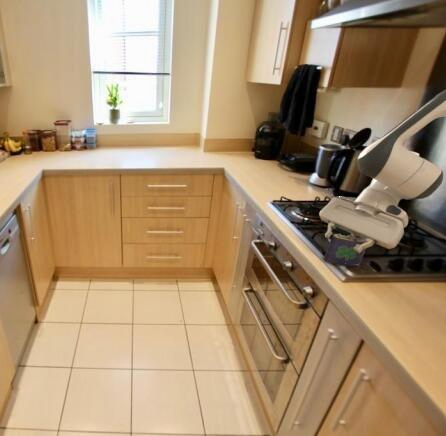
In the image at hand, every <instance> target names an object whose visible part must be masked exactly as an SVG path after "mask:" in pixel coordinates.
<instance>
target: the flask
mask: <svg viewBox="0 0 446 436" xmlns="http://www.w3.org/2000/svg"><path fill="white" fill-rule="evenodd" d="M333 234H334V235H332V237H331V239H329V243H328V246H327V248H326V252H325V255H324V256H323V261H324V262H326V263H328V264H333V265H337V266H343V267H349V268H350V267H351V268H358V267H359V266H360V264H361V262H362V260H363V258H364V255H365V253H366V250H367V248H365V249H363V250H362V251H361V252H360V253H358V252H356V251H354V249H353V248H354V247H355V246H356V244H359V245H361V244H363V243H366V239H364V238H361V237H355V233H353V232H352V233H351V234H350V235H346V234H342V233H333ZM345 263H346V264H345ZM354 264H359V265H354Z"/></svg>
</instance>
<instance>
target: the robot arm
mask: <svg viewBox="0 0 446 436" xmlns="http://www.w3.org/2000/svg"><path fill="white" fill-rule="evenodd" d="M443 117H445V118H446V89H444V90H443V91H441V92H440V93H438V94H436V95H435V96H433V97H432V98H430V99H429V100H428V101H427V102H426V103H424V104H423V105H421V106H420V107H419V108H417V109H416V110H415V111H413V112H412V113H411V114H410V115H408V116H407V117H406V118H404V119H403V120H402V121H401V122H399V123H398V124H397V125H395V126H394V127H393V128H392V129H390V130H389V131H388V132H387V133H385V134H384V135H383V136H381V137H380V138H379V139H377V140H375V141H374V142H372V143H370V144H369V145H367V146H366V147H364V149H363V150H362V151H361V152H360V153H359V155H358V156H357V158H356V166H357V170H358V172H359V173H360V174H363V175H364V176H366V177H369V178H370V179H372V180H371V182H370V184H369V185H368V186H367V187H365V188H364V189H363V190H362V191H361V192H360V193H359V195H358V196H357V197H356V198H357V199H356V200H352V199H349V198H345V197H346V196H343V195H340V196H334V197H332V198H331V200H330V201H329V202H328V203H327V204H326V205H325V206H324V207H323V208H322V209H321V210H320V211H319V213H318V215H319V218H320V221H322V222H324V223H326V224H327V231H326V232H325V234H324V237H325V238H326V239H328V240H331V237H332V235H334V234H335V233H333V230H335V228H336V227H338V228H340V229H343V230H345V231H347V232H350V233H352V232H353V233H355V235H357V236H359V237H358V238H364V239H366V243H363V244H361V245H359V244H356V246H355V247H354V248H353V249H354V251H356V252H358V253H360V252H361V251H362V250H363V249H365V248H366V249H368V248H370V247H373V245H378V246H381V247H382V248H385V249H387V250H391V249H394V248H396V247H397V245H398V244H399V243H400V241H401V240H402V238H403V236H404V234H405V230H404V228H407V226H408V224H409V217H408V214H407V212H406V211H405V210H403V208H401V207H399V206H398V205H399V203H400V201H401V200H406V201H410V200H411V201H412V200H423V199H426V198H429V197H430V196H431V195H432V194H434V193H435V191H436V190H437V189H439V187H440V186H441V185H442V183H443V180H444V171H443V169H441V168H440V167H439V166H438V165H436V164H434V163H432V162H431V161H429V160H427V159H425V158H423V157H421V156H420V155H419V156H418V155H416V154H414V153H412V152H413V151H412V152H410V151H411V150H409V149H407V148H406V147H404V146H403V144H404V143H405V142H406V141H407V140H408V139H410V138H411V137H412V136H414V135H416V133H418V132H420V131H421V130H422V129H423V128H425V126H427V125H428V124H430V123H431V122H433V121H434V120H436V119H438V118H443ZM398 202H399V203H398ZM397 204H398V205H397Z"/></svg>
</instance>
